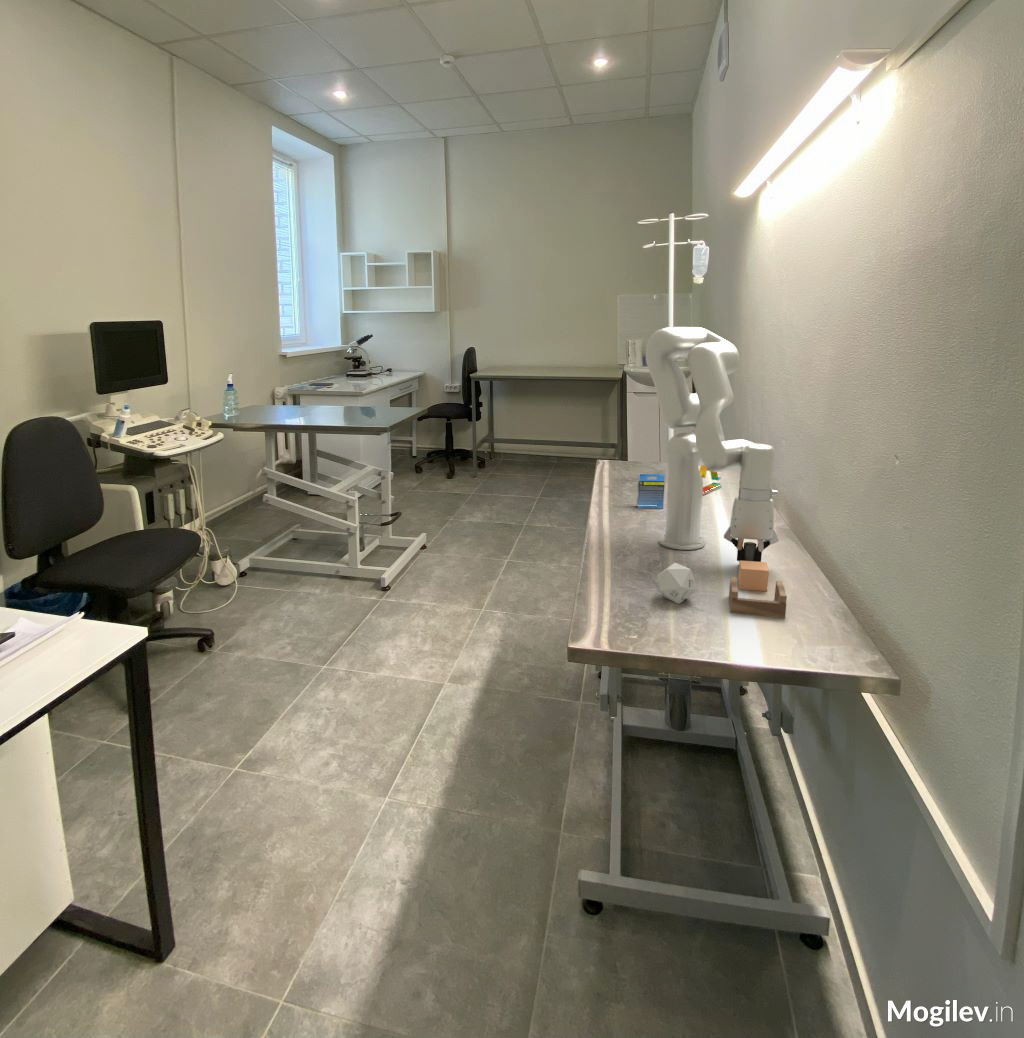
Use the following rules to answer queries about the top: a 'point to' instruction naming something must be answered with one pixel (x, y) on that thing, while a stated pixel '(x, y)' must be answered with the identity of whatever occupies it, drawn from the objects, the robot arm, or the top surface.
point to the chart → (714, 477)
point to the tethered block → (752, 570)
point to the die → (676, 583)
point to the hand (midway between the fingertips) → (748, 563)
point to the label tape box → (651, 490)
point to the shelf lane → (758, 602)
